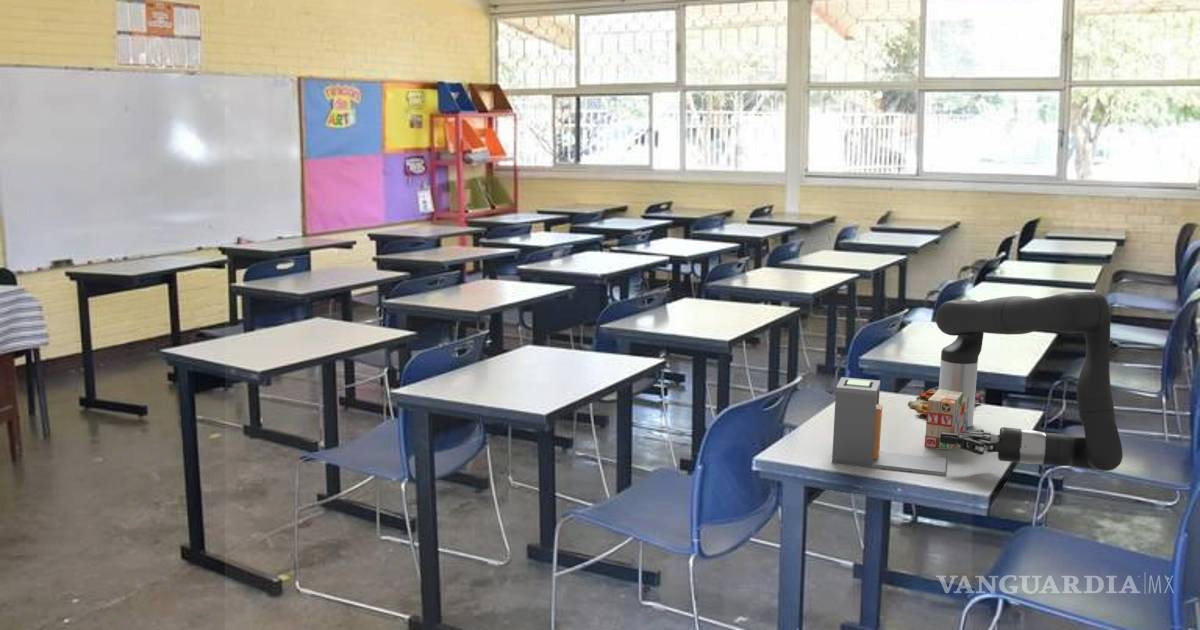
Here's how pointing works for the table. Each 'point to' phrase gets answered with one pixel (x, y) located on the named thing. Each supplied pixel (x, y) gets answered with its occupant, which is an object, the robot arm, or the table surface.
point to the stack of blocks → (945, 417)
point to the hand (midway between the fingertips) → (940, 437)
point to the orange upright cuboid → (877, 431)
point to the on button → (858, 383)
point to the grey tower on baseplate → (869, 433)
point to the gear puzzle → (923, 398)
